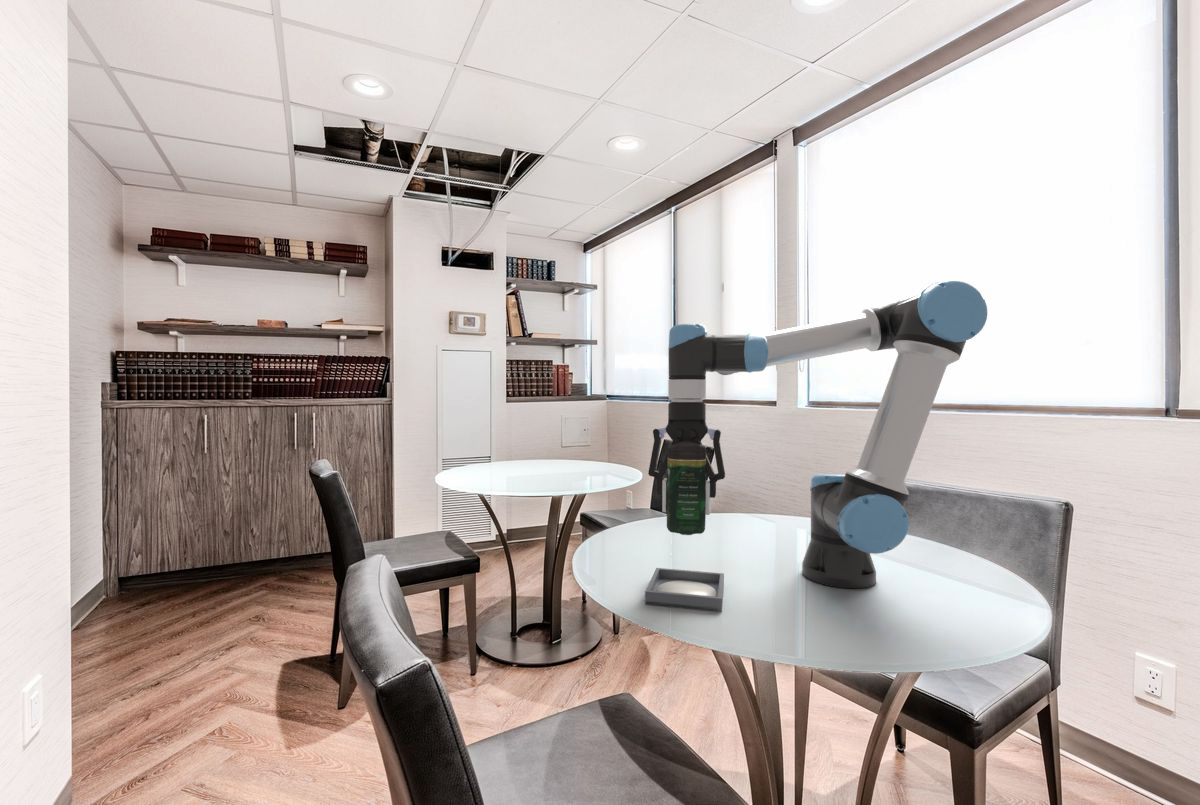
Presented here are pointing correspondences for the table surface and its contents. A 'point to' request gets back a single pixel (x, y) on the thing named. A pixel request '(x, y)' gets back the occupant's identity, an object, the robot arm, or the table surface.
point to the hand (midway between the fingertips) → (686, 512)
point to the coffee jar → (686, 488)
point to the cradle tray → (686, 589)
